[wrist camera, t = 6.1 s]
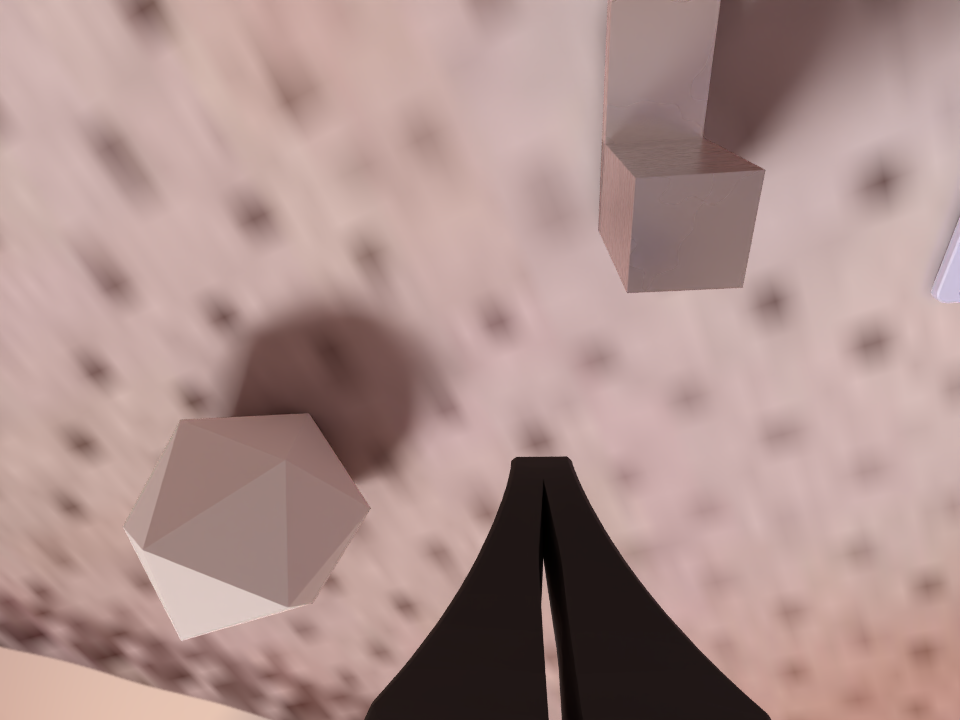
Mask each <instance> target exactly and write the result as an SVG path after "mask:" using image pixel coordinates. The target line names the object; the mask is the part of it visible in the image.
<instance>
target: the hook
mask: <svg viewBox="0 0 960 720" xmlns="http://www.w3.org/2000/svg"><path fill="white" fill-rule="evenodd" d="M720 2H721V0H608V7H607V31H606V56H605V80H604V104H603V128H602V153H601V177H600V201H599V226H598V230H599V233H600V235H601V237H602V239H603V241H604V244H605V246H606V248H607V250H608V252H609V254H610V257H611V259H612V261H613V263H614V265H615V268H616V270H617V272H618V274H619V276H620V279H621V281H622V283H623V285H624V287H625V290H626V292H627V293H639V292H660V291H682V290H703V289H724V288H743V283H744V278H745V272H746V267H747V262H748V257H749V252H750V247H751V241H752V236H753V231H754V226H755V221H756V216H757V210H758V205H759V200H760V195H761V190H762V185H763V180H764V174H765V169H763V168H761V167H759V166H757V165H755V164H753V163H751V162H749V161H747V160H745V159H743V158H742V157H740V156H738V155H736V154H734V153H732V152H730V151H728V150H726V149H724V148H722V147H720V146H718V145H717V144H715V143H713V142H711V141H709V140H707V139H705V138H703V131H704V123H705V116H706V108H707V101H708V93H709V85H710V78H711V70H712V63H713V55H714V47H715V40H716V32H717V25H718V17H719V9H720Z"/></svg>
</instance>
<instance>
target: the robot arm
mask: <svg viewBox="0 0 960 720" xmlns="http://www.w3.org/2000/svg"><path fill="white" fill-rule="evenodd" d="M931 293H932V296H933V297H934V298H936V299H937V300H939V301H940V302H943V303H960V218H959V220H958V223H957V225H956V228H955V230H954V233H953V236H952V238H951V241H950V243H949V246H948V248H947V251H946V253H945V256H944V259H943V261H942V264H941V266H940V269H939V271H938V274H937V276H936V279H935V282H934V284H933V287H932V291H931ZM543 559H544V566H545V573H546V580H547V587H548V593H549V600H550V607H551V614H552V620H553V627H554V634H555V641H556V647H557V656H558V666H559V679H560V696H561V712H562V720H771V718H770V717H769V715H768V714H767V713H766V712H765V711H764V710H762V709H761V708H760V707H759V706H758V705H757V704H756V703H755V702H753V701H752V700H751V699H750V698H749V697H748V696H747V695H746V694H744V693H743V692H742V691H741V690H740V689H739V688H738V687H737V686H736V685H735V684H734V683H733V682H732V681H731V680H729V679H728V678H727V677H726V676H725V675H724V674H723V673H722V672H721V671H720V670H719V669H718V668H717V667H716V666H715V665H714V664H713V663H712V662H711V661H710V660H709V659H708V658H707V657H706V656H705V655H704V654H703V653H702V652H701V651H700V650H699V649H698V648H697V647H696V646H695V645H694V644H693V642H692V641H691V640H690V639H689V638H688V637H687V636H686V635H685V634H684V633H683V631H682V630H681V629H680V628H679V627H678V626H677V625H676V624H675V623H674V622H673V621H672V619H671V618H670V617H669V616H668V615H667V614H666V613H665V612H664V610H663V609H662V608H661V607H660V606H659V604H658V603H657V602H656V601H655V599H654V598H653V597H652V596H651V595H650V593H649V592H648V591H647V590H646V588H645V587H644V586H643V584H642V583H641V582H640V580H639V579H638V578H637V577H636V575H635V574H634V572H633V571H632V570H631V568H630V567H629V566H628V564H627V563H626V561H625V560H624V558H623V557H622V555H621V554H620V552H619V551H618V549H617V548H616V546H615V545H614V543H613V542H612V540H611V539H610V537H609V535H608V534H607V532H606V531H605V529H604V527H603V525H602V524H601V522H600V520H599V519H598V517H597V515H596V513H595V512H594V510H593V508H592V506H591V504H590V502H589V500H588V499H587V496H586V494H585V492H584V490H583V488H582V486H581V484H580V482H579V480H578V477H577V475H576V472H575V470H574V467H573V464H572V461H571V460H570V459H569V458H568V457H516V458H514V459H513V460H512V461H511V469H510V474H509V479H508V483H507V486H506V489H505V492H504V496H503V499H502V502H501V504H500V507H499V509H498V512H497V515H496V517H495V520H494V522H493V525H492V527H491V529H490V531H489V534H488V536H487V538H486V540H485V542H484V544H483V546H482V549H481V551H480V553H479V555H478V557H477V559H476V561H475V562H474V564H473V566H472V568H471V570H470V572H469V573H468V575H467V577H466V579H465V580H464V582H463V584H462V586H461V587H460V589H459V591H458V592H457V594H456V595H455V597H454V598H453V600H452V602H451V603H450V605H449V606H448V608H447V609H446V611H445V612H444V614H443V615H442V617H441V618H440V620H439V621H438V623H437V624H436V625H435V627H434V628H433V629H432V631H431V632H430V633H429V635H428V636H427V637H426V639H425V640H424V641H423V643H422V644H421V645H420V647H419V648H418V649H417V651H416V652H415V653H414V655H413V656H412V657H411V658H410V660H409V661H408V662H407V663H406V665H405V666H404V667H403V668H402V669H401V670H400V672H399V673H398V674H397V675H396V676H395V677H394V678H393V680H392V681H391V682H390V683H389V684H388V685H387V686H386V688H385V689H384V690H383V691H382V692H381V693H380V694H379V696H378V697H377V698H376V699H375V700H374V701H373V703H372V704H371V706H370V708H369V711H368V713H367V715H366V717H365V719H364V720H549V718H548V704H547V689H546V675H545V660H544V644H543V628H542V612H541V598H542V576H543Z"/></svg>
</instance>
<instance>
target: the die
mask: <svg viewBox="0 0 960 720" xmlns="http://www.w3.org/2000/svg"><path fill="white" fill-rule="evenodd" d="M370 509H371V508H370V506H369V505H368V503H367V502H366V500H365V499H364V497H363V496H362V494H361V492H360V491H359V489H358V488H357V486H356V485H355V483H354V482H353V480H352V479H351V477H350V476H349V474H348V473H347V471H346V469H345V468H344V466H343V465H342V463H341V462H340V460H339V459H338V457H337V456H336V454H335V453H334V451H333V449H332V448H331V446H330V445H329V443H328V442H327V440H326V439H325V437H324V436H323V434H322V433H321V431H320V430H319V428H318V426H317V425H316V423H315V422H314V420H313V419H312V417H311V416H310V414H309V413H302V414H283V415H263V416H244V417H225V418H206V419H186V420H180V421H179V423H178V425H177V427H176V429H175V431H174V432H173V434H172V436H171V438H170V440H169V442H168V444H167V445H166V447H165V449H164V451H163V453H162V455H161V456H160V458H159V460H158V462H157V464H156V466H155V468H154V469H153V471H152V473H151V475H150V477H149V479H148V481H147V482H146V484H145V486H144V488H143V490H142V492H141V493H140V495H139V497H138V499H137V501H136V503H135V505H134V506H133V508H132V510H131V512H130V514H129V516H128V517H127V519H126V521H125V523H124V525H123V528H124V530H125V532H126V534H127V536H128V538H129V540H130V542H131V544H132V546H133V547H134V549H135V551H136V553H137V555H138V557H139V559H140V561H141V563H142V565H143V567H144V569H145V571H146V573H147V575H148V577H149V579H150V581H151V583H152V585H153V587H154V589H155V591H156V593H157V595H158V597H159V599H160V601H161V602H162V604H163V606H164V608H165V610H166V612H167V614H168V616H169V618H170V620H171V622H172V624H173V626H174V628H175V630H176V632H177V634H178V636H179V638H180V640H181V641H183V640H186V639H190V638H193V637H197V636H200V635H204V634H207V633H211V632H214V631H218V630H221V629H225V628H228V627H232V626H235V625H239V624H242V623H246V622H249V621H252V620H256V619H259V618H263V617H266V616H270V615H273V614H277V613H280V612H284V611H287V610H291V609H294V608H298V607H301V606H305V605H308V604H312V603H313V602H314V601H315V599H316V597H317V596H318V594H319V592H320V591H321V589H322V587H323V586H324V584H325V583H326V581H327V579H328V578H329V576H330V574H331V573H332V571H333V569H334V568H335V566H336V564H337V563H338V561H339V560H340V558H341V556H342V555H343V553H344V551H345V550H346V548H347V546H348V545H349V543H350V541H351V540H352V538H353V537H354V535H355V533H356V532H357V530H358V528H359V527H360V525H361V523H362V522H363V520H364V518H365V517H366V515H367V514H368V512H369V510H370Z"/></svg>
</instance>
